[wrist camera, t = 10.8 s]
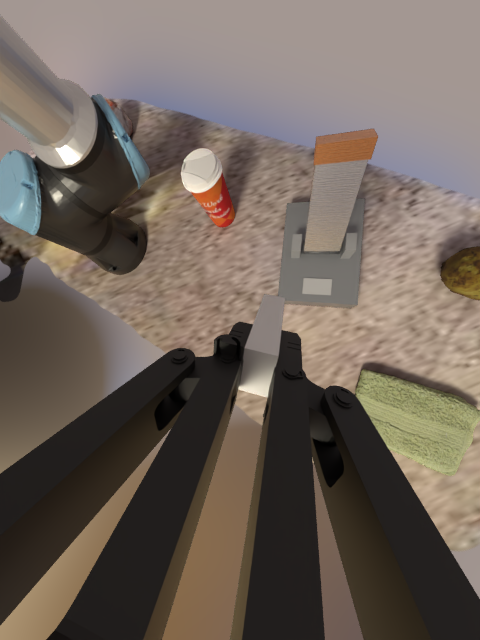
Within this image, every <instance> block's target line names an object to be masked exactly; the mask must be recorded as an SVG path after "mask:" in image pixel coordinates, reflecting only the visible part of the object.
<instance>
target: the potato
mask: <svg viewBox="0 0 480 640" xmlns="http://www.w3.org/2000/svg"><path fill="white" fill-rule="evenodd" d="M440 276H441V278H442V279H441V280H442V281H443V282H444V284H445V285H446V286H447V287H448V288H449V289H450V291H452V292H454V293H457V294H460V295H463V296H466V297H468V298H471V299H475V300H480V246H477V247H471V248H466V249H464V250H461V251H459V252H458V253H456V254H454V255H453V256H451V257H450V258H449V259H448V260H447V261H446V262H444V263H442V267H441V275H440Z"/></svg>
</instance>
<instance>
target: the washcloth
mask: <svg viewBox="0 0 480 640" xmlns="http://www.w3.org/2000/svg"><path fill="white" fill-rule="evenodd" d="M355 393H356V397H357V398H358V400H359V401H360V402H361V404H362V406H363V407H364V409H365V411H366V412H367V414H368V416H369V417H370V419H371V421H372V422H373V424H374V426H375V427H376V429H377V431H378V432H379V434H380V435H381V437H382V439H383V440H384V442H385V444H386V445H387V447H388V449H389V450H392V451H394V452H396V453H398V454H401V455H404V456H406V457H407V458H409V459H410V458H411V459H413V460H415V461H416V462H418V463H419V464H421V465H424V466H426V467H428V468H431V469H433V470H434V471H438V472H440V473H443V474H445V475H449V476H452V475H455V473H456V472H457V469H458V466H459V464H460V461H461V459H462V457H463V456H464V453H465V452H466V450H467V449H468V447H469V446H470V445H471V443H472V441H473V431H474V428H475V426H476V424H477V423H478V422H479V420H480V410H478V409H477V408H476V407H475V406H473V405H470V404H469V403H467V402H466V401H465V400H464V399H463V398H462V397H459V396H456V395H453V394H449V393H444V392H442V391H440V390H435V389H432V388H429V387H425V386H423V385H420V384H416V383H413V382H410V381H407V380H405V379H399V378H396V377H394V376H389V375H386V374H382V373H377V372H373V371H369V370H365V369H363V370H362V372H361V375H360V379H359V383H358V386H357V388H356V390H355Z"/></svg>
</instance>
